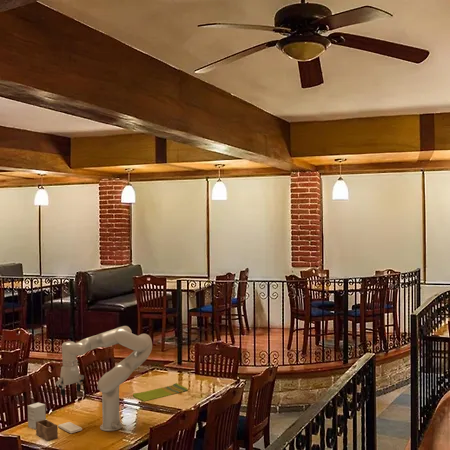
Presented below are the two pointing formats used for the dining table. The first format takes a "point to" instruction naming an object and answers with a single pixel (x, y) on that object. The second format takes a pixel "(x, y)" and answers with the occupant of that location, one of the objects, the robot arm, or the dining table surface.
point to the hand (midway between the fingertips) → (71, 393)
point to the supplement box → (36, 414)
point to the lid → (70, 427)
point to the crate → (46, 430)
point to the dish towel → (160, 392)
